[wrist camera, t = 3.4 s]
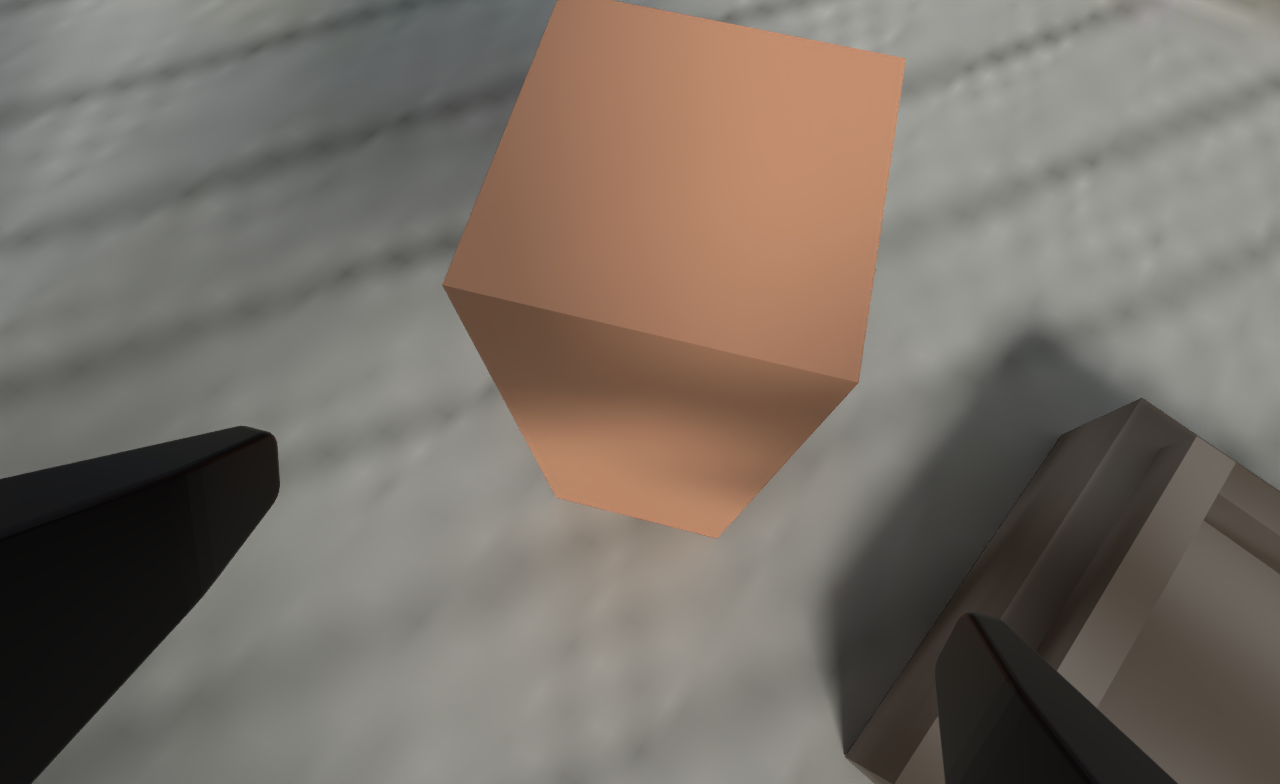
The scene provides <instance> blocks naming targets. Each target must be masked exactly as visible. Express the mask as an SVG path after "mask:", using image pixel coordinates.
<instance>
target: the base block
mask: <svg viewBox="0 0 1280 784" xmlns="http://www.w3.org/2000/svg"><path fill="white" fill-rule="evenodd" d="M968 611H972V612H976V613H980V614H984V615H988V616H992V617H995V618H998V619H1000V620H1002V621H1003V622H1005V623H1006V624H1007V625H1008V626H1009V627H1010V628H1011V629H1012V630H1013V631H1014V632H1015V633H1017V634H1018V635H1019V636H1020V637H1021V638H1022V639H1023V640H1024V641H1025V642H1026V643H1027V644H1028V645H1029V646H1031V647H1032V648H1033V649H1034V650H1035V651H1036V652H1037V653H1038V654H1039V655H1040V656H1041V657H1042V658H1043V659H1045V660H1046V661H1047V662H1048V663H1049V664H1050V665H1051V666H1052V667H1053V668H1054V669H1055V670H1056V671H1057V672H1059V673H1060V674H1061V675H1062V676H1063V677H1064V678H1065V679H1066V680H1067V681H1068V682H1069V683H1070V684H1072V685H1073V686H1074V687H1075V688H1076V689H1077V690H1078V691H1079V692H1080V693H1081V694H1082V695H1083V696H1084V697H1086V698H1087V699H1088V700H1089V701H1090V702H1091V703H1092V704H1093V705H1094V706H1095V707H1096V708H1097V709H1098V710H1100V711H1101V712H1102V713H1103V714H1104V715H1105V716H1106V717H1107V718H1108V719H1109V720H1110V721H1111V722H1112V723H1114V724H1115V725H1116V726H1117V727H1118V728H1119V729H1120V730H1121V731H1122V732H1123V733H1124V734H1125V735H1126V736H1128V737H1129V738H1130V739H1131V740H1132V741H1133V742H1134V743H1135V744H1136V745H1137V746H1138V747H1139V748H1140V749H1142V750H1143V751H1144V752H1145V753H1146V754H1147V755H1148V756H1149V757H1150V758H1151V759H1152V760H1153V761H1154V762H1156V763H1157V764H1158V765H1159V766H1160V767H1161V768H1162V769H1163V770H1164V771H1165V772H1166V773H1167V774H1169V775H1170V776H1171V777H1172V778H1173V779H1174V780H1175V781H1176V782H1177V783H1178V784H1280V491H1279V490H1277V489H1276V488H1274V487H1273V486H1271V485H1270V484H1268V483H1267V482H1265V481H1264V480H1262V479H1261V478H1259V477H1258V476H1256V475H1255V474H1253V473H1252V472H1251V471H1249V470H1248V469H1246V468H1245V467H1243V466H1242V465H1240V464H1239V463H1237V462H1236V461H1234V460H1233V459H1231V458H1230V457H1228V456H1227V455H1225V454H1224V453H1223V452H1221V451H1220V450H1218V449H1217V448H1215V447H1214V446H1212V445H1211V444H1209V443H1208V442H1206V441H1205V440H1203V439H1202V438H1200V437H1199V436H1198V435H1196V434H1195V433H1193V432H1192V431H1190V430H1189V429H1187V428H1186V427H1184V426H1183V425H1181V424H1180V423H1178V422H1177V421H1175V420H1174V419H1172V418H1171V417H1170V416H1168V415H1167V414H1165V413H1164V412H1162V411H1161V410H1159V409H1158V408H1156V407H1155V406H1153V405H1152V404H1150V403H1149V402H1147V401H1146V400H1144V399H1143V398H1141V399H1139V400H1136V401H1134V402H1132V403H1130V404H1128V405H1126V406H1123V407H1121V408H1119V409H1117V410H1115V411H1113V412H1110V413H1108V414H1106V415H1104V416H1102V417H1100V418H1097V419H1095V420H1093V421H1091V422H1089V423H1087V424H1084V425H1082V426H1080V427H1078V428H1076V429H1074V430H1071V431H1069V432H1067V433H1065V434H1063V435H1061V437H1060V438H1059V440H1058V441H1057V443H1056V444H1055V446H1054V447H1053V449H1052V450H1051V452H1050V453H1049V455H1048V456H1047V458H1046V459H1045V461H1044V462H1043V464H1042V465H1041V467H1040V468H1039V469H1038V471H1037V472H1036V474H1035V475H1034V477H1033V478H1032V480H1031V481H1030V483H1029V484H1028V486H1027V487H1026V489H1025V490H1024V492H1023V493H1022V495H1021V496H1020V498H1019V499H1018V501H1017V502H1016V504H1015V505H1014V507H1013V508H1012V510H1011V511H1010V513H1009V514H1008V516H1007V517H1006V518H1005V520H1004V521H1003V523H1002V524H1001V526H1000V527H999V529H998V530H997V532H996V533H995V535H994V536H993V538H992V539H991V541H990V542H989V544H988V545H987V547H986V548H985V550H984V551H983V553H982V554H981V556H980V557H979V559H978V560H977V562H976V563H975V564H974V566H973V567H972V569H971V570H970V572H969V573H968V575H967V576H966V578H965V579H964V581H963V582H962V584H961V585H960V587H959V588H958V590H957V591H956V593H955V594H954V596H953V597H952V599H951V600H950V602H949V603H948V605H947V606H946V608H945V609H944V611H943V612H942V613H941V615H940V616H939V618H938V619H937V621H936V622H935V624H934V625H933V627H932V628H931V630H930V631H929V633H928V634H927V636H926V637H925V639H924V640H923V642H922V643H921V645H920V646H919V648H918V649H917V651H916V652H915V654H914V655H913V657H912V658H911V659H910V661H909V662H908V664H907V665H906V667H905V668H904V670H903V671H902V673H901V674H900V676H899V677H898V679H897V680H896V682H895V683H894V685H893V686H892V688H891V689H890V691H889V692H888V694H887V695H886V697H885V698H884V700H883V701H882V703H881V704H880V706H879V707H878V708H877V710H876V711H875V713H874V714H873V716H872V717H871V719H870V720H869V722H868V723H867V725H866V726H865V728H864V729H863V731H862V732H861V734H860V735H859V737H858V738H857V740H856V741H855V743H854V744H853V746H852V747H851V749H850V750H849V752H848V753H847V755H846V756H845V757H846V758H847V759H848V760H849V761H850V762H851V763H852V764H853V765H855V766H856V767H857V768H858V769H859V770H860V771H861V772H862V773H863V774H865V775H866V776H867V777H868V778H869V779H870V780H871V781H872V782H873V783H874V784H945V780H944V770H943V760H942V750H941V740H940V730H939V719H938V709H937V699H936V689H935V678H934V672H935V664H936V660H937V658H938V655H939V653H940V651H941V650H942V648H943V646H944V644H945V642H946V640H947V638H948V636H949V634H950V632H951V631H952V629H953V627H954V625H955V623H956V621H957V619H958V618H959V617H960V615H962V614H963V613H964V612H968Z"/></svg>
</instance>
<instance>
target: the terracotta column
mask: <svg viewBox="0 0 1280 784" xmlns="http://www.w3.org/2000/svg"><path fill="white" fill-rule="evenodd" d="M905 61H906V58H901V57H896V56H891V55H886V54H880V53H875V52H870V51H865V50H860V49H855V48H850V47H845V46H840V45H835V44H830V43H825V42H820V41H815V40H810V39H805V38H800V37H795V36H790V35H785V34H780V33H775V32H770V31H765V30H760V29H754V28H749V27H744V26H739V25H734V24H729V23H724V22H719V21H714V20H709V19H704V18H699V17H694V16H689V15H684V14H679V13H674V12H669V11H664V10H659V9H654V8H649V7H644V6H639V5H633V4H628V3H623V2H618V1H613V0H557V2H556V5H555V7H554V10H553V12H552V15H551V17H550V20H549V22H548V24H547V27H546V29H545V32H544V34H543V37H542V39H541V42H540V44H539V47H538V49H537V52H536V54H535V57H534V59H533V62H532V64H531V67H530V69H529V71H528V74H527V76H526V79H525V81H524V84H523V86H522V89H521V91H520V94H519V96H518V99H517V101H516V104H515V106H514V109H513V111H512V114H511V116H510V119H509V121H508V123H507V126H506V128H505V131H504V133H503V136H502V138H501V141H500V143H499V146H498V148H497V151H496V153H495V156H494V158H493V161H492V163H491V166H490V168H489V170H488V173H487V175H486V178H485V180H484V183H483V185H482V188H481V190H480V193H479V195H478V198H477V200H476V203H475V205H474V208H473V210H472V213H471V215H470V217H469V220H468V222H467V225H466V227H465V230H464V232H463V235H462V237H461V240H460V242H459V245H458V247H457V250H456V252H455V255H454V257H453V260H452V262H451V264H450V267H449V269H448V272H447V274H446V277H445V279H444V282H443V284H442V286H443V287H444V289H445V291H446V293H447V295H448V297H449V299H450V300H451V302H452V304H453V306H454V308H455V310H456V312H457V313H458V315H459V317H460V319H461V321H462V323H463V325H464V326H465V328H466V330H467V332H468V334H469V336H470V338H471V340H472V341H473V343H474V345H475V347H476V349H477V351H478V353H479V354H480V356H481V358H482V360H483V362H484V364H485V366H486V367H487V369H488V371H489V373H490V375H491V377H492V379H493V381H494V382H495V384H496V386H497V388H498V390H499V392H500V394H501V395H502V397H503V399H504V401H505V403H506V405H507V407H508V408H509V410H510V412H511V414H512V416H513V418H514V420H515V421H516V423H517V425H518V427H519V429H520V431H521V433H522V435H523V436H524V438H525V440H526V442H527V444H528V446H529V448H530V449H531V451H532V453H533V455H534V457H535V459H536V461H537V462H538V464H539V466H540V468H541V470H542V472H543V474H544V476H545V477H546V479H547V481H548V483H549V485H550V487H551V489H552V490H553V492H554V494H555V496H556V497H557V498H561V499H565V500H569V501H572V502H576V503H580V504H584V505H588V506H592V507H596V508H600V509H604V510H608V511H612V512H616V513H619V514H623V515H627V516H631V517H635V518H639V519H643V520H647V521H651V522H655V523H659V524H663V525H666V526H670V527H674V528H678V529H682V530H686V531H690V532H694V533H698V534H702V535H706V536H710V537H713V538H718V537H719V536H720V534H721V533H722V532H723V531H724V530H725V529H726V528H727V527H728V526H729V525H730V523H731V522H732V521H733V520H734V519H735V518H736V517H737V516H738V515H739V514H740V512H741V511H742V510H743V509H744V508H745V507H746V506H747V505H748V504H749V503H750V501H751V500H752V499H753V498H754V497H755V496H756V495H757V494H758V493H759V492H760V490H761V489H762V488H763V487H764V486H765V485H766V484H767V483H768V482H769V481H770V479H771V478H772V477H773V476H774V475H775V474H776V473H777V472H778V471H779V470H780V468H781V467H782V466H783V465H784V464H785V463H786V462H787V461H788V460H789V459H790V457H791V456H792V455H793V454H794V453H795V452H796V451H797V450H798V449H799V448H800V446H801V445H802V444H803V443H804V442H805V441H806V440H807V439H808V438H809V437H810V435H811V434H812V433H813V432H814V431H815V430H816V429H817V428H818V427H819V426H820V424H821V423H822V422H823V421H824V420H825V419H826V418H827V417H828V416H829V415H830V413H831V412H832V411H833V410H834V409H835V408H836V407H837V406H838V405H839V404H840V402H841V401H842V400H843V399H844V398H845V397H846V396H847V395H848V394H849V393H850V391H851V390H852V389H853V388H854V387H855V386H856V385H857V384H858V383H859V376H860V369H861V362H862V355H863V349H864V342H865V335H866V328H867V321H868V314H869V307H870V301H871V294H872V287H873V280H874V273H875V266H876V260H877V253H878V246H879V239H880V232H881V225H882V218H883V212H884V205H885V198H886V191H887V184H888V177H889V171H890V164H891V157H892V150H893V143H894V136H895V129H896V123H897V116H898V109H899V102H900V95H901V88H902V81H903V75H904V68H905Z"/></svg>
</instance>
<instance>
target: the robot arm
mask: <svg viewBox="0 0 1280 784" xmlns="http://www.w3.org/2000/svg"><path fill="white" fill-rule="evenodd" d="M279 488H280V477H279V462H278V446H277V441H276V438H275V437H274V435H272V434H271V433H270V432H267V431H263V430H259V429H255V428H251V427H247V426H237V427H233V428H228V429H224V430H219V431H215V432H210V433H206V434H201V435H197V436H192V437H188V438H183V439H179V440H174V441H170V442H165V443H161V444H156V445H152V446H147V447H143V448H138V449H134V450H129V451H125V452H120V453H116V454H111V455H106V456H102V457H97V458H93V459H88V460H84V461H79V462H75V463H70V464H66V465H61V466H57V467H52V468H48V469H43V470H39V471H34V472H30V473H25V474H21V475H16V476H12V477H7V478H3V479H0V784H32V783H33V781H34V780H35V779H36V778H37V777H38V776H39V775H40V774H41V773H42V772H43V771H44V769H45V768H46V767H47V766H48V765H49V764H50V763H51V762H52V761H53V760H54V759H55V758H56V756H57V755H58V754H59V753H60V752H61V751H62V750H63V749H64V748H65V747H66V746H67V744H68V743H69V742H70V741H71V740H72V739H73V738H74V737H75V736H76V735H77V734H78V732H79V731H80V730H81V729H82V728H83V727H84V726H85V725H86V724H87V723H88V722H89V721H90V719H91V718H92V717H93V716H94V715H95V714H96V713H97V712H98V711H99V710H100V709H101V707H102V706H103V705H104V704H105V703H106V702H107V701H108V700H109V699H110V698H111V697H112V695H113V694H114V693H115V692H116V691H117V690H118V689H119V688H120V687H121V686H122V685H123V684H124V682H125V681H126V680H127V679H128V678H129V677H130V676H131V675H132V674H133V673H134V672H135V670H136V669H137V668H138V667H139V666H140V665H141V664H142V663H143V662H144V661H145V660H146V658H147V657H148V656H149V655H150V654H151V653H152V652H153V651H154V650H155V649H156V648H157V647H158V645H159V644H160V643H161V642H162V641H163V640H164V639H165V638H166V637H167V636H168V635H169V633H170V632H171V631H172V630H173V629H174V628H175V627H176V626H177V625H178V624H179V623H180V621H181V620H182V619H183V618H184V617H185V616H186V615H187V614H188V613H189V612H190V611H191V609H192V608H193V607H194V606H195V605H196V604H197V603H198V601H199V600H200V599H201V598H202V597H203V596H204V594H205V593H206V592H207V591H208V589H209V588H210V587H211V586H212V584H213V583H214V582H215V581H216V579H217V578H218V577H219V575H220V574H221V573H222V571H223V570H224V569H225V567H226V566H227V565H228V563H229V562H230V561H231V559H232V558H233V557H234V555H235V554H236V553H237V551H238V550H239V549H240V548H241V546H242V545H243V544H244V542H245V541H246V540H247V538H248V537H249V536H250V534H251V533H252V532H253V530H254V529H255V528H256V526H257V525H258V524H259V522H260V521H261V520H262V518H263V517H264V516H265V514H266V513H267V512H268V510H269V509H270V508H271V506H272V505H273V503H274V502H275V500H276V498H277V496H278V493H279ZM934 678H935V689H936V699H937V709H938V719H939V730H940V740H941V750H942V760H943V770H944V780H945V784H1178V783H1177V782H1176V781H1175V780H1174V779H1173V778H1172V777H1171V776H1170V775H1169V774H1167V773H1166V772H1165V771H1164V770H1163V769H1162V768H1161V767H1160V766H1159V765H1158V764H1157V763H1156V762H1154V761H1153V760H1152V759H1151V758H1150V757H1149V756H1148V755H1147V754H1146V753H1145V752H1144V751H1143V750H1142V749H1140V748H1139V747H1138V746H1137V745H1136V744H1135V743H1134V742H1133V741H1132V740H1131V739H1130V738H1129V737H1128V736H1126V735H1125V734H1124V733H1123V732H1122V731H1121V730H1120V729H1119V728H1118V727H1117V726H1116V725H1115V724H1114V723H1112V722H1111V721H1110V720H1109V719H1108V718H1107V717H1106V716H1105V715H1104V714H1103V713H1102V712H1101V711H1100V710H1098V709H1097V708H1096V707H1095V706H1094V705H1093V704H1092V703H1091V702H1090V701H1089V700H1088V699H1087V698H1086V697H1084V696H1083V695H1082V694H1081V693H1080V692H1079V691H1078V690H1077V689H1076V688H1075V687H1074V686H1073V685H1072V684H1070V683H1069V682H1068V681H1067V680H1066V679H1065V678H1064V677H1063V676H1062V675H1061V674H1060V673H1059V672H1057V671H1056V670H1055V669H1054V668H1053V667H1052V666H1051V665H1050V664H1049V663H1048V662H1047V661H1046V660H1045V659H1043V658H1042V657H1041V656H1040V655H1039V654H1038V653H1037V652H1036V651H1035V650H1034V649H1033V648H1032V647H1031V646H1029V645H1028V644H1027V643H1026V642H1025V641H1024V640H1023V639H1022V638H1021V637H1020V636H1019V635H1018V634H1017V633H1015V632H1014V631H1013V630H1012V629H1011V628H1010V627H1009V626H1008V625H1007V624H1006V623H1005V622H1003V621H1002V620H1000V619H998V618H995V617H992V616H988V615H984V614H980V613H976V612H972V611H968V612H964V613H963V614H962V615H960V617H959V618H958V619H957V621H956V623H955V625H954V627H953V629H952V631H951V632H950V634H949V636H948V638H947V640H946V642H945V644H944V646H943V648H942V650H941V651H940V653H939V655H938V658H937V660H936V664H935V672H934Z"/></svg>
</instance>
